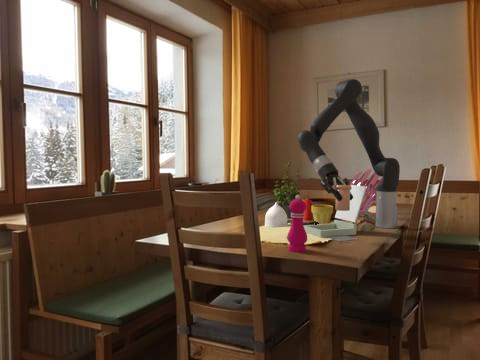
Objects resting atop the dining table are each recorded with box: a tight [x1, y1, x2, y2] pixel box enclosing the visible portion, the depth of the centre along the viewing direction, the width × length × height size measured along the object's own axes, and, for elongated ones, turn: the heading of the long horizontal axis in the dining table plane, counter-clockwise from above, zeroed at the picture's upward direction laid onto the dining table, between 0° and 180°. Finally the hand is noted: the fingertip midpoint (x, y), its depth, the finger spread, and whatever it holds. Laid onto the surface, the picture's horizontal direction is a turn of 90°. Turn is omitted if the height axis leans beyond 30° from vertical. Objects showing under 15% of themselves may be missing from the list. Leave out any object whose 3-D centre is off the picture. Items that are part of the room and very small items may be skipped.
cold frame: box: [303, 184, 367, 238], centre depth 183 cm, size 23×14×21 cm, turn 114°
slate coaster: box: [326, 235, 359, 244], centre depth 171 cm, size 9×9×1 cm
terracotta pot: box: [334, 185, 351, 211], centre depth 170 cm, size 6×6×10 cm
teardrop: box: [264, 201, 289, 228], centre depth 205 cm, size 11×11×12 cm
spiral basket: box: [349, 168, 383, 218], centre depth 239 cm, size 28×28×27 cm
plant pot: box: [310, 204, 334, 224], centre depth 206 cm, size 10×10×10 cm
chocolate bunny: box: [357, 210, 377, 233], centre depth 190 cm, size 6×8×10 cm
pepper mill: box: [286, 194, 308, 253], centre depth 153 cm, size 7×7×20 cm
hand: (346, 199), depth 169 cm, fingers closed on terracotta pot, 5 cm apart
